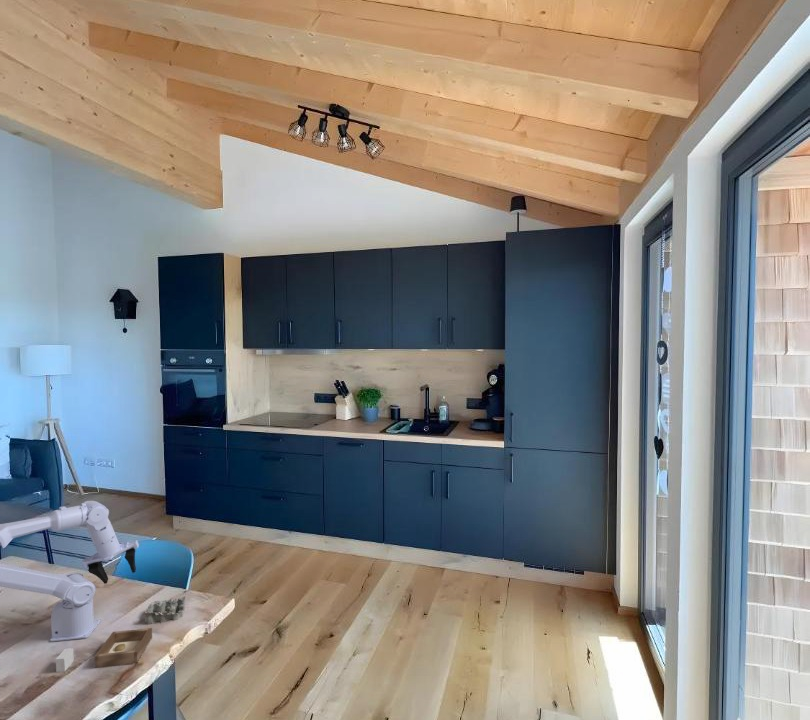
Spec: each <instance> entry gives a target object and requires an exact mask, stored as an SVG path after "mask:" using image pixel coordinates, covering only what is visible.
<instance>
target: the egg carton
mask: <svg viewBox="0 0 810 720" xmlns="http://www.w3.org/2000/svg"><path fill="white" fill-rule="evenodd" d="M185 601H186V596H182V597H179V598H174V599H173V598H171V599H166V600H165V599H164V600H155V601H153V602H152V603H150V604H149V605H148V606H147V608H146V610H145V612H143V615H144V623H145V624H148V625H153V624H154V623H157V622H160V623H161V622H162V623H165V622H167V621H168V620H173V621H178V620H179V619H181V618H183V617H184V611H185V610H186V605H185V604H186V603H185ZM177 609H178V611H176V610H177ZM154 611H156V612H154ZM163 611H164V612H165V611H166V612H167V613H166V614H163V613H164V612H163ZM158 612H160V613H158ZM161 612H162V613H161ZM156 621H157V622H156Z"/></svg>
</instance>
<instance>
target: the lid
mask: <svg viewBox="0 0 810 720" xmlns="http://www.w3.org/2000/svg"><path fill="white" fill-rule="evenodd" d="M74 660H75V659H74V647H70V648H69V647H68V648H64V649H63V650H62V651H61V653H60V654H59V655H58V656H57V657H56V658H55V669H56V670H55V673H63V672H66V671H67V670H68V668H69V667H70V666H71V665H72V664H73V662H74Z"/></svg>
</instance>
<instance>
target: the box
mask: <svg viewBox="0 0 810 720" xmlns="http://www.w3.org/2000/svg"><path fill="white" fill-rule="evenodd" d="M152 639H153V629H152V627H148V628H147V627H146V628H139V629H130V630H128V629H127V630H119V631H118V630H117V631H112V632H111V634H110V635H109V637H108V638H107V639H106V640H105V642H104V644H103V645H101V647H100V648H99V649H98V651H97V653H96V654H95V656H94V666H95V667H94V669H98V668H107V667H115V666H117V667H118V666H123V665H124V666H125V665H126V666H127V665H134V664H133V663H136V664H139V662H138V661H140V660H141V659H142V657H141V656H143V655H144V653H145V652H146V650H147V649H148V646H149V645H150V643H151V641H152ZM142 654H143V655H142ZM139 659H140V660H139Z"/></svg>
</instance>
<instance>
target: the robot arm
mask: <svg viewBox="0 0 810 720" xmlns="http://www.w3.org/2000/svg"><path fill="white" fill-rule="evenodd" d="M109 514H110V510H109V508H107V507H106V506H105V505H104V504H103V503H101V502H98V501H96V500H86V501H84V502H82V503H80V505H79V504H78V505H75V506H74V505H73V506H70V507H67V506H65V505H64V506H59V508H58V509H56V510H53V511H52V512H50V514H48V515H46V516H41V517H36V518H30V519H24V520H17V521H11V522H6V523H0V547H1V549H4V548H6V547H7V546H8V545H9V544H10V542H11V541H12V540H13V539H15V538H19V537H23V536H26V535H31V534H33V533H37V532H38V533H39V532H41V531H45V530H49V529H50V530H52V531H53V532H61V531H64V530H68V529H69V530H70V529H73V528H77V527H81V526H84V525H85V526H86V528H87V532H88V535H89V536H90V539H91V542H92V543H93V547H94V548H95V551H96V552H95V553H94V554H93V555H90V556H88V557H86V558H83V560H82V561H81V565H82V567H83V569H87V568H88V573H90V574H92V575H94V576H96V577H97V578H98V579H99V580H100V581H102V582H103V584H104V585H106V584H108V583H109V576H108V574H107V572H106V570H105V568H104V565H103V562H102V561H104V562H108V561H110V560H112V559H113V558H115V557H116V556H118V555H121V554H124V553H125V555H124V559H125V560H126V562H127V563H128V565H129V568H130V571H131V573H132V574H134V573H136V572H137V571H136V570H137V566H136V550H137V549H139V546H140V544H139V542H138V540H137V539H135V540H132V541H127V542H121V543H120V542H119V539H118V536H117V534H116V533H115V532H116V531H115V530H114V527H113V525H112V522H111V520H110V519H109V516H110V515H109ZM0 587H1V588H6V589H13V590H19V591H26V592H32V593H39V594H45V595H50V596H53V597H56V598H58V599H60V600H62V601H59V602H56V603H55V605H54V607H53V608H52V611H51V615H50V624H51V625H50V627H51V638H50V640H49V641H50V642H58V641H61V642H62V641H68V640H69V641H70V640H71V641H72V640H79V639H87V638H88V637H89V636H90V635H91V634H92V632H93V631H94V630H95V629H96V627H97V626H98V625H99V623H101V619H95V617H94V615H95V613H94V596H95V594H96V590H97V589H96V585H95V584H94V583H93V582H91V581H89V579H87V578H86V577H84V575H83V574H82V573H80V572H72V573H58V574H57V573H51V572H46V571H41V570H35V569H29V568H25V567H20V566H16V565H11V564H10V565H9V564H5V563H0Z"/></svg>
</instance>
